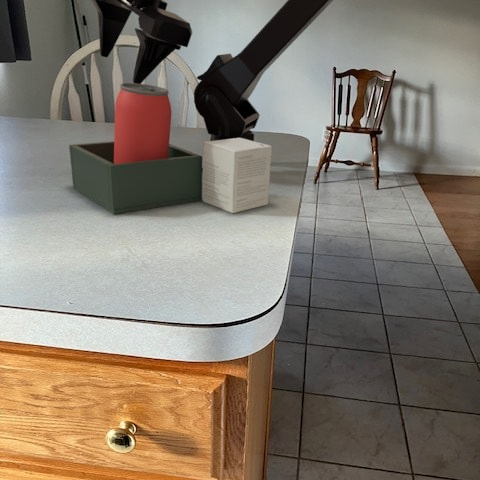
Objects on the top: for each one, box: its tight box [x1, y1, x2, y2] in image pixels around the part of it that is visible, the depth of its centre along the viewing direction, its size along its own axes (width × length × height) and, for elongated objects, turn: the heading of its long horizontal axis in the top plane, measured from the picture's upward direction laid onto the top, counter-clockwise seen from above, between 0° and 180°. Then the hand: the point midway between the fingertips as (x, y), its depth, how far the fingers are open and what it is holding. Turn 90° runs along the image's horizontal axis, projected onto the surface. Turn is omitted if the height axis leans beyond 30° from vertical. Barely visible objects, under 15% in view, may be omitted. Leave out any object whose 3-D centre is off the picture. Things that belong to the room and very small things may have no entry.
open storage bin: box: [68, 140, 203, 215], centre depth 68 cm, size 12×12×6 cm
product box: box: [201, 138, 273, 214], centre depth 66 cm, size 6×6×7 cm
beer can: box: [113, 82, 173, 164], centre depth 66 cm, size 7×7×12 cm
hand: (119, 69), depth 78 cm, fingers open, 9 cm apart
